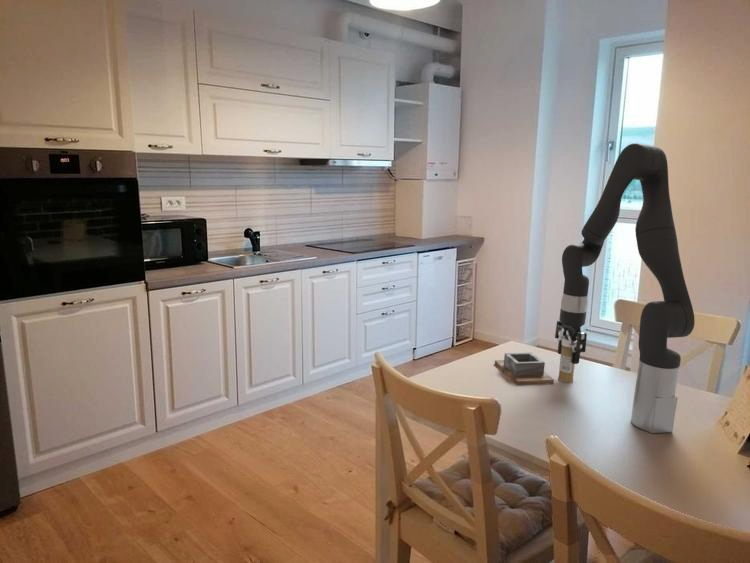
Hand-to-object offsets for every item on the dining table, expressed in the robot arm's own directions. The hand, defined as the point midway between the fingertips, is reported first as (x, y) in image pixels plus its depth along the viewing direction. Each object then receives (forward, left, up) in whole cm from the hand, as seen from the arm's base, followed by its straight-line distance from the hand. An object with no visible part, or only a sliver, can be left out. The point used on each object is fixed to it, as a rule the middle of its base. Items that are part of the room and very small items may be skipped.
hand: (567, 358), depth 169 cm
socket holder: (+7, +11, -7) cm, 15 cm away
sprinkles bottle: (0, 0, -7) cm, 7 cm away
